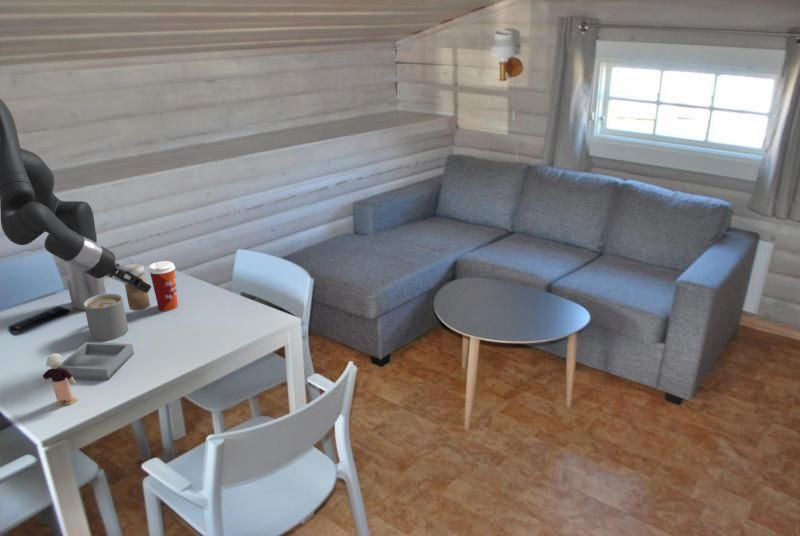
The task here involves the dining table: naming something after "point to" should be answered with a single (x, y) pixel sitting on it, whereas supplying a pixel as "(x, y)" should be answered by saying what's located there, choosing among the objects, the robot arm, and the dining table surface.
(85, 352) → the stoneware tray
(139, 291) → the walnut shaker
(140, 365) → the dining table surface
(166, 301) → the paper cup
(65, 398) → the grandmother figurine
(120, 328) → the coffee mug
